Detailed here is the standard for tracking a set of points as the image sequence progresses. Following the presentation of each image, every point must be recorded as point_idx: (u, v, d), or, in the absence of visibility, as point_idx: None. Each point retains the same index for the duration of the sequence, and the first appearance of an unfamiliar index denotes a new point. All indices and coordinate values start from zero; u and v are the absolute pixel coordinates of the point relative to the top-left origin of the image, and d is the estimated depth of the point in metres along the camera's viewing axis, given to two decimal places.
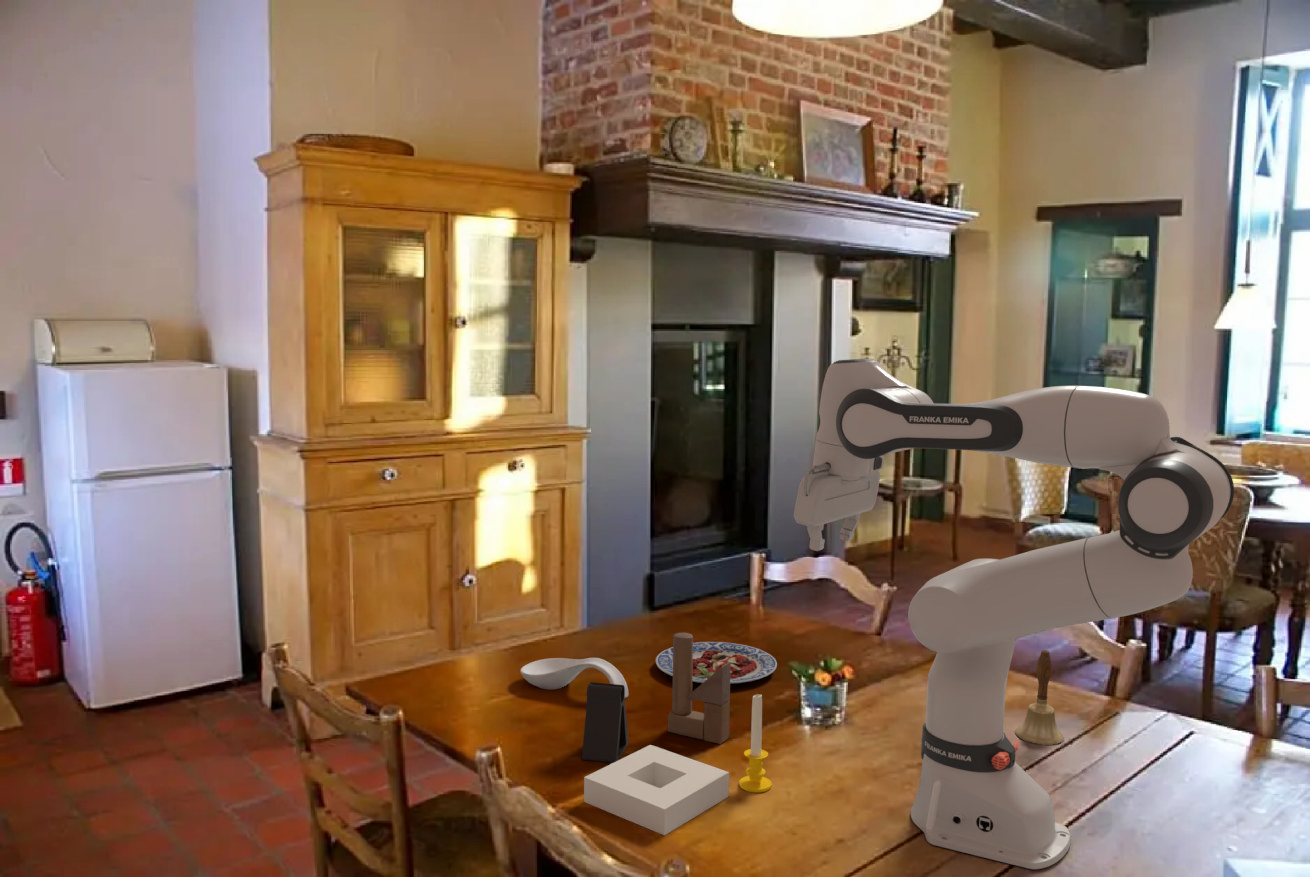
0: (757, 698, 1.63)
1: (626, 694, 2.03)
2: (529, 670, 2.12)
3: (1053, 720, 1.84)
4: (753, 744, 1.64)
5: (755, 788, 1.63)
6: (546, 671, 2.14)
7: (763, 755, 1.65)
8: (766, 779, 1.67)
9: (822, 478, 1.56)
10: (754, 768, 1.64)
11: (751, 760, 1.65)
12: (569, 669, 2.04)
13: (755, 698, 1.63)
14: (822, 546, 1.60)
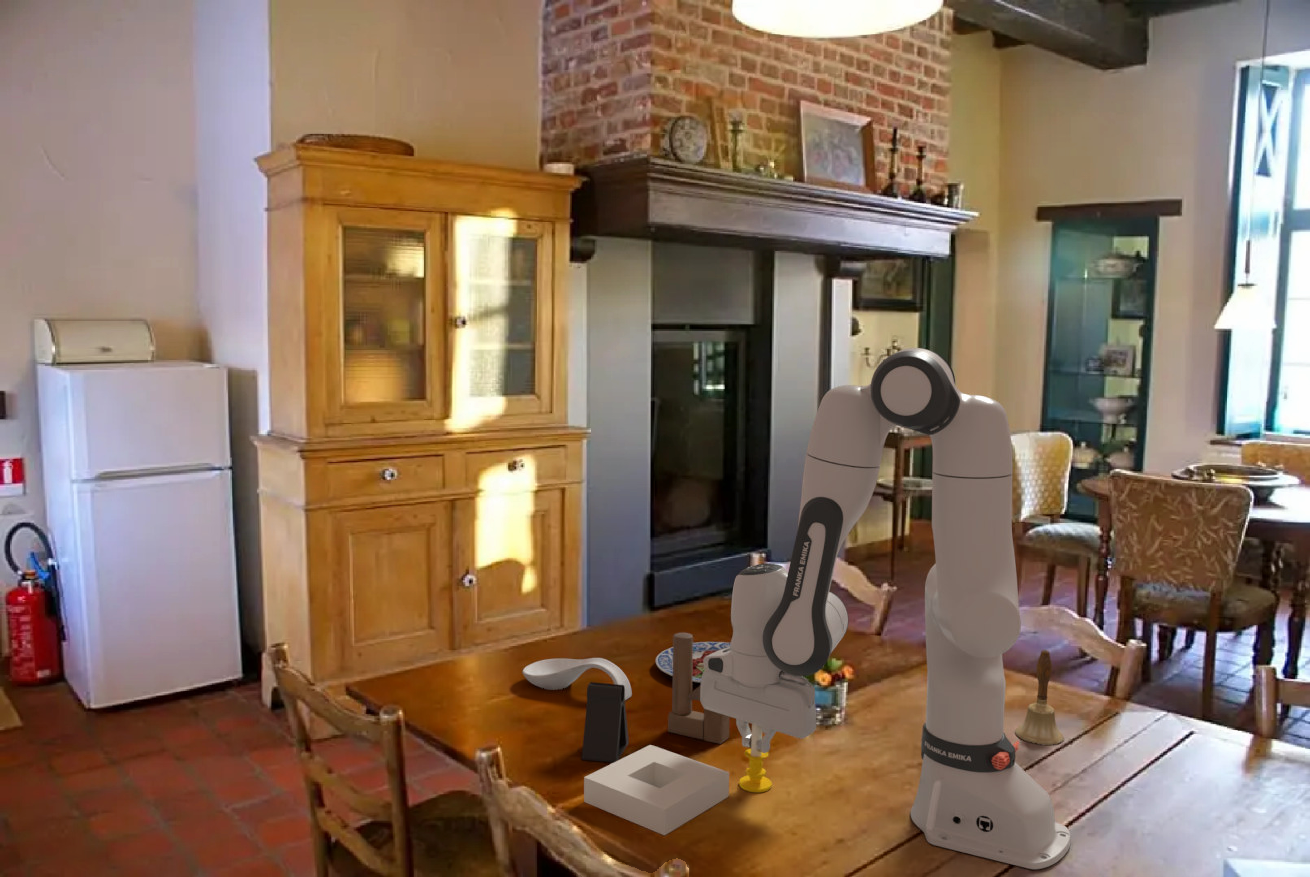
0: None
1: (629, 694, 2.03)
2: (531, 670, 2.12)
3: (1053, 720, 1.84)
4: (754, 744, 1.64)
5: (755, 788, 1.63)
6: (548, 672, 2.14)
7: (763, 755, 1.65)
8: (766, 779, 1.67)
9: None
10: (754, 768, 1.64)
11: (751, 760, 1.64)
12: (572, 669, 2.04)
13: None
14: None
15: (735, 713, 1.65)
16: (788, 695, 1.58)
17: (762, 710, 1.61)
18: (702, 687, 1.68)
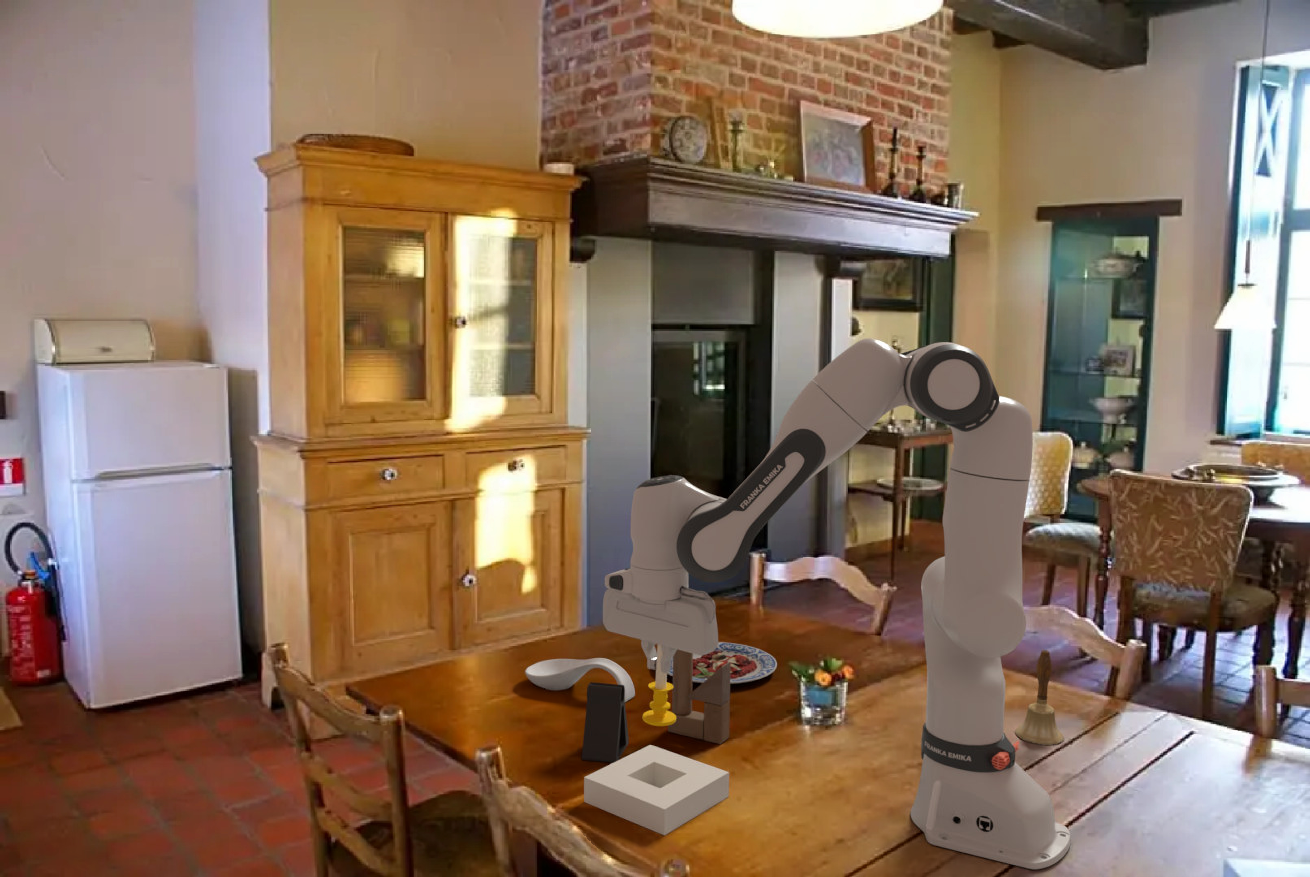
0: None
1: (633, 694, 2.03)
2: (534, 671, 2.12)
3: (1053, 720, 1.84)
4: (656, 675, 1.57)
5: (652, 721, 1.57)
6: (550, 672, 2.13)
7: (667, 688, 1.57)
8: (673, 715, 1.59)
9: None
10: (656, 700, 1.57)
11: (654, 692, 1.58)
12: (575, 670, 2.04)
13: None
14: None
15: (636, 633, 1.58)
16: (688, 610, 1.51)
17: (663, 628, 1.54)
18: (604, 608, 1.61)
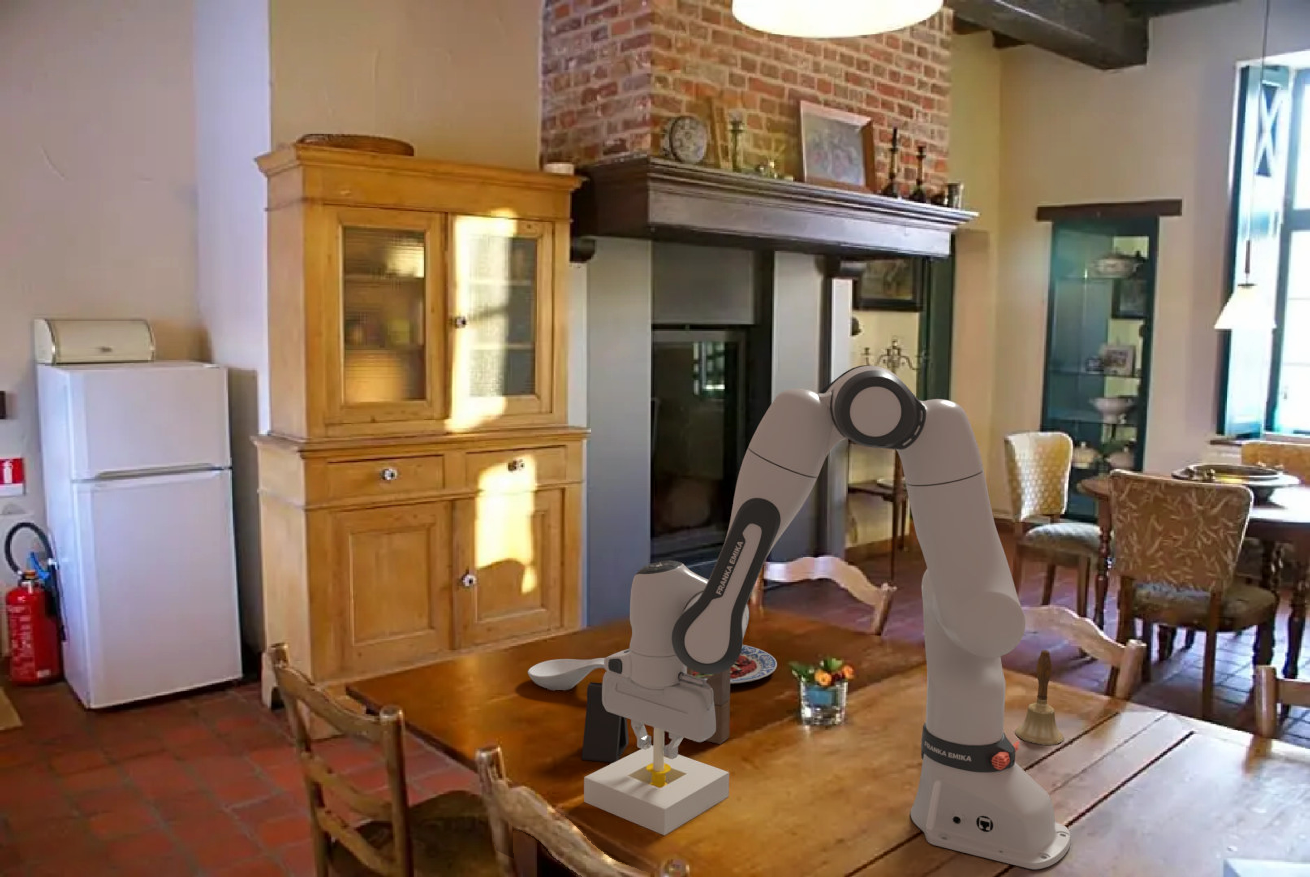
0: None
1: None
2: (536, 671, 2.11)
3: (1053, 720, 1.84)
4: (654, 758, 1.59)
5: None
6: (552, 672, 2.13)
7: (664, 770, 1.59)
8: None
9: None
10: (654, 783, 1.59)
11: (652, 774, 1.59)
12: (579, 670, 2.03)
13: None
14: None
15: (635, 715, 1.60)
16: (686, 697, 1.53)
17: (662, 713, 1.56)
18: (603, 689, 1.63)
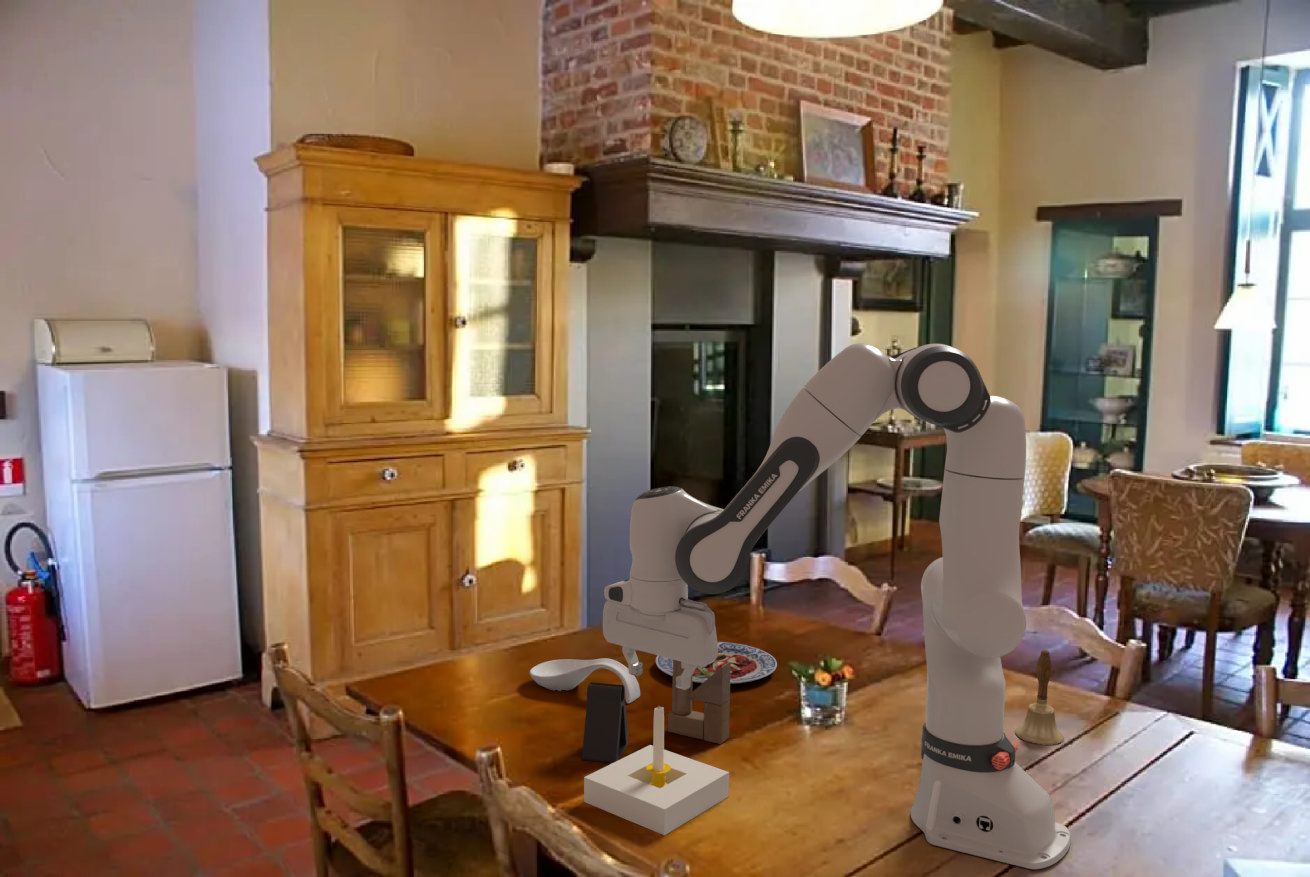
0: (657, 710, 1.58)
1: (638, 694, 2.03)
2: (538, 671, 2.11)
3: (1053, 720, 1.84)
4: (654, 758, 1.59)
5: None
6: (554, 672, 2.13)
7: (664, 770, 1.59)
8: None
9: None
10: (654, 783, 1.59)
11: (652, 774, 1.59)
12: (580, 670, 2.03)
13: (655, 710, 1.58)
14: None
15: (636, 644, 1.58)
16: (688, 622, 1.51)
17: (663, 639, 1.55)
18: (604, 619, 1.61)
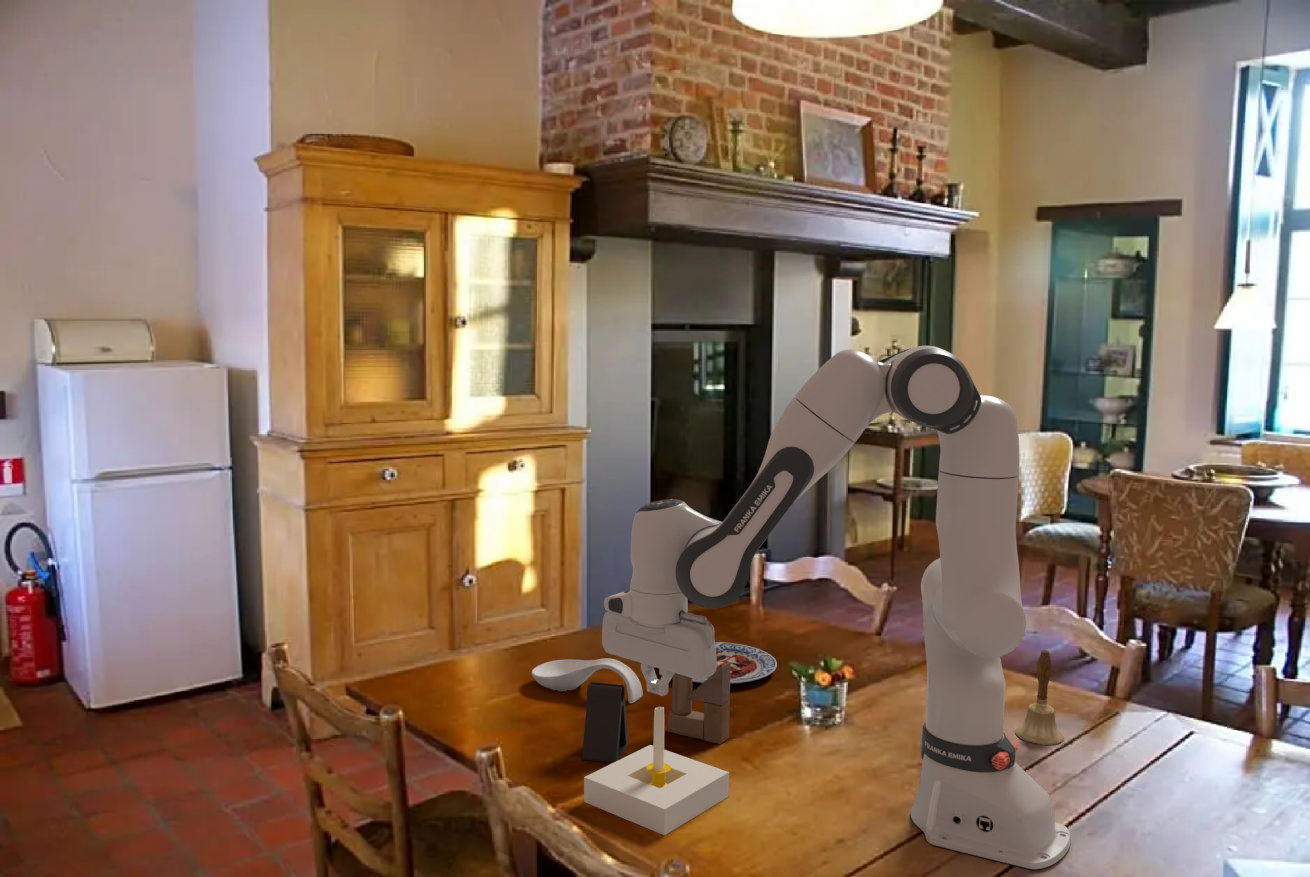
0: (657, 710, 1.58)
1: (641, 694, 2.03)
2: (540, 672, 2.11)
3: (1053, 720, 1.84)
4: (654, 758, 1.59)
5: None
6: (556, 673, 2.13)
7: (664, 770, 1.59)
8: None
9: None
10: (654, 782, 1.59)
11: (652, 774, 1.59)
12: (583, 670, 2.03)
13: (655, 710, 1.58)
14: None
15: (635, 656, 1.58)
16: (687, 635, 1.51)
17: (662, 652, 1.55)
18: (604, 630, 1.62)
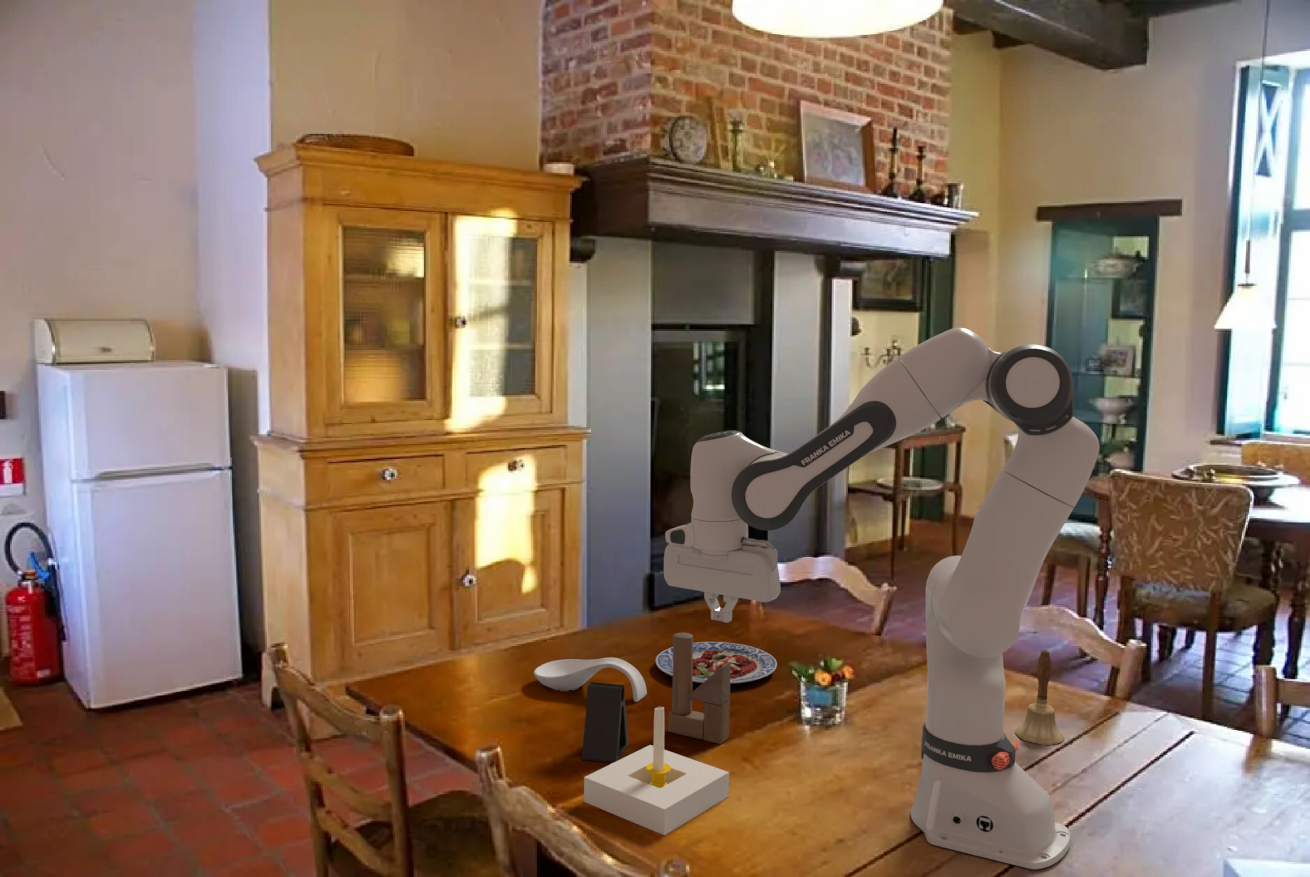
0: (657, 710, 1.58)
1: (645, 692, 2.04)
2: (541, 672, 2.11)
3: (1053, 720, 1.84)
4: (654, 758, 1.59)
5: None
6: (557, 673, 2.13)
7: (664, 770, 1.59)
8: None
9: None
10: (654, 783, 1.59)
11: (652, 774, 1.59)
12: (587, 670, 2.03)
13: (655, 710, 1.58)
14: None
15: (699, 585, 1.63)
16: (751, 559, 1.56)
17: (726, 578, 1.59)
18: (665, 563, 1.66)
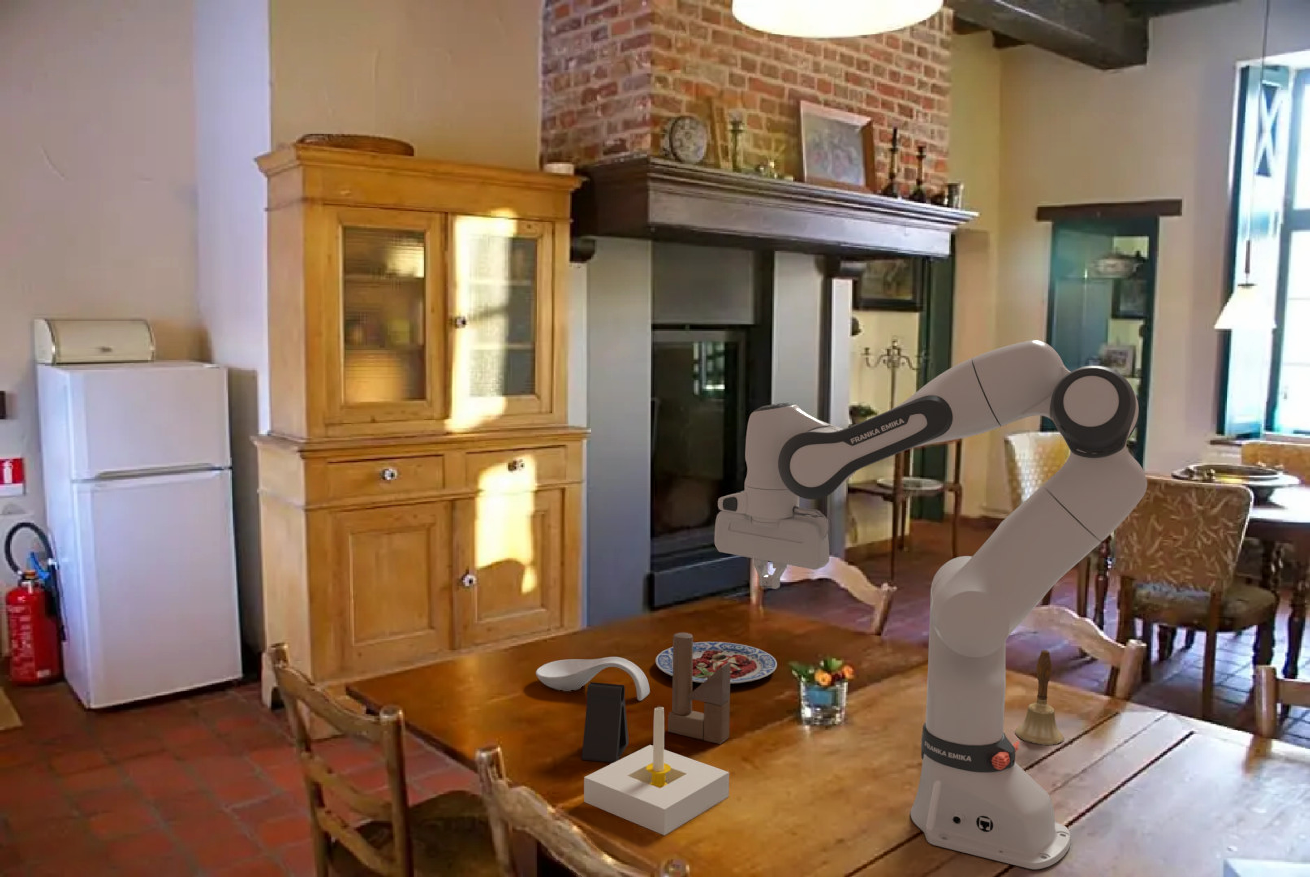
0: (657, 710, 1.58)
1: (648, 691, 2.04)
2: (543, 672, 2.11)
3: (1053, 720, 1.84)
4: (654, 758, 1.59)
5: None
6: (559, 673, 2.13)
7: (664, 770, 1.59)
8: None
9: None
10: (654, 783, 1.59)
11: (652, 774, 1.59)
12: (590, 669, 2.04)
13: (655, 710, 1.58)
14: None
15: (749, 552, 1.68)
16: (802, 527, 1.61)
17: (776, 545, 1.64)
18: (716, 529, 1.71)
